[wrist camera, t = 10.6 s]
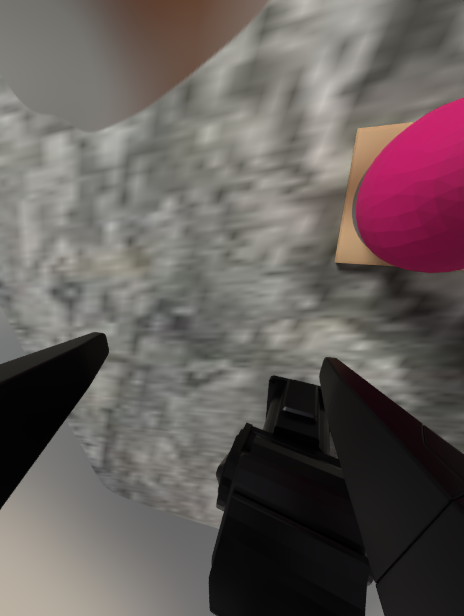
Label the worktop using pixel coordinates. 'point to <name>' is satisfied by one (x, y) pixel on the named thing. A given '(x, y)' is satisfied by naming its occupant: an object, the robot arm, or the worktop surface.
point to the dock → (363, 156)
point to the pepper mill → (418, 195)
